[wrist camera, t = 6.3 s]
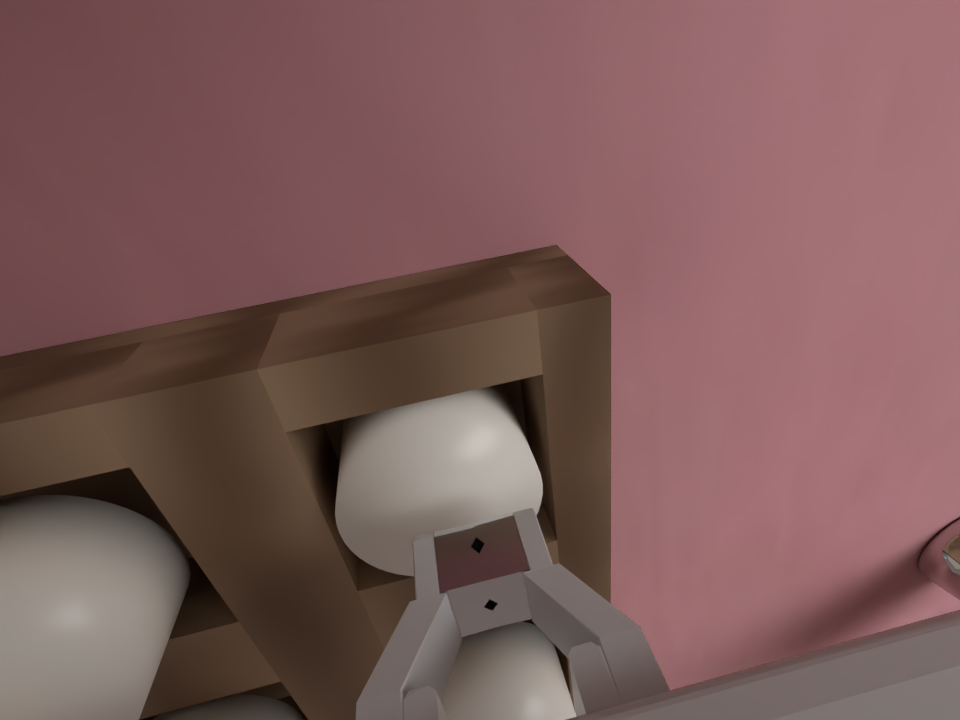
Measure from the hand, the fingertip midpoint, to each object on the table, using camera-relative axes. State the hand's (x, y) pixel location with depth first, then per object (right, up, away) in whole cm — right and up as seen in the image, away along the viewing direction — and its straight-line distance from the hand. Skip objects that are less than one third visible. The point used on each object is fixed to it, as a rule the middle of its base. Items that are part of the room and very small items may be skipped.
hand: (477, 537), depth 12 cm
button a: (-2, +2, +4) cm, 5 cm away
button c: (0, -8, +7) cm, 10 cm away
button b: (-11, -1, +1) cm, 11 cm away
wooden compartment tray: (-6, -3, +7) cm, 10 cm away
